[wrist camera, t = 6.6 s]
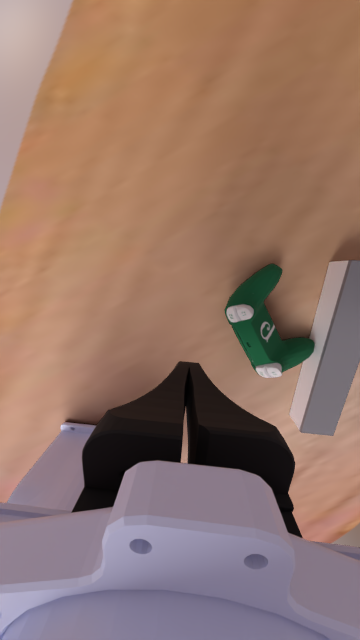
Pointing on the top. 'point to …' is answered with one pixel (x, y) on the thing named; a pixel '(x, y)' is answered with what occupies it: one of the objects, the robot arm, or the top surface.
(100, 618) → the robot arm
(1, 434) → the top surface
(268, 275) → the gaming controller
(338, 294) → the bar
